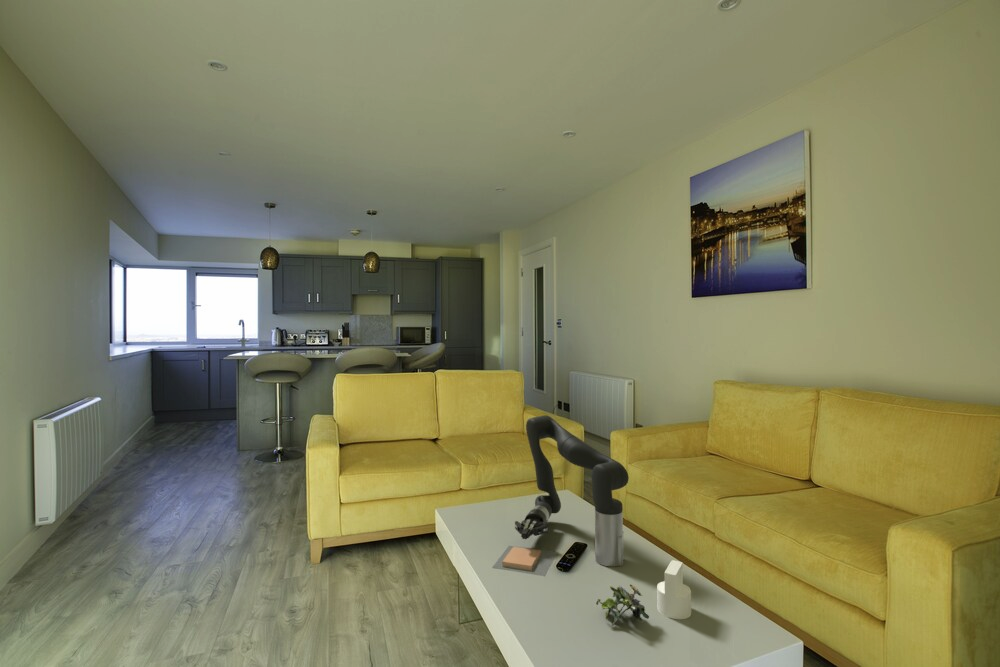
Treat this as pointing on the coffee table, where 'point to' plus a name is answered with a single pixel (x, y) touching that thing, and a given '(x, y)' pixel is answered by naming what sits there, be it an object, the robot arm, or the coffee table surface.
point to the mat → (540, 566)
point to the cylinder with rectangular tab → (674, 593)
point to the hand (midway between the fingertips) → (524, 536)
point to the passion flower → (624, 603)
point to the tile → (521, 558)
